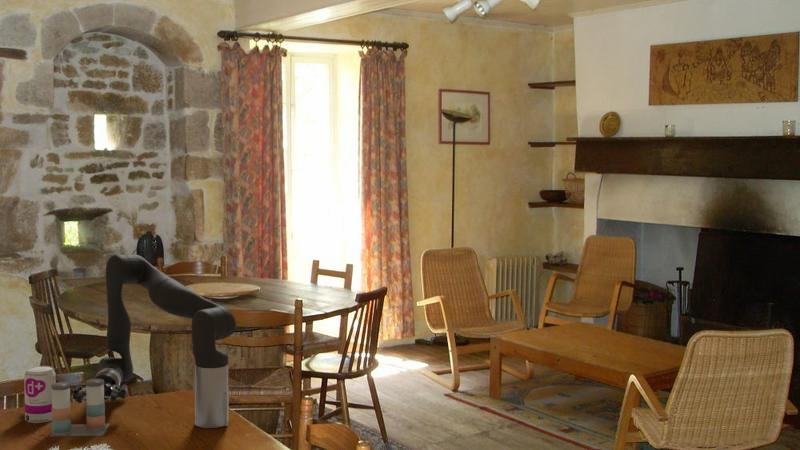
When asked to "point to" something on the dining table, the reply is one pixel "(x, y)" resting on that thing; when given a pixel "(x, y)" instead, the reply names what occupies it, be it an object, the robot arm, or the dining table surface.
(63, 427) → the twin tube
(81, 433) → the slate card
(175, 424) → the dining table surface
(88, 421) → the slim tube
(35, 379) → the supplement can
